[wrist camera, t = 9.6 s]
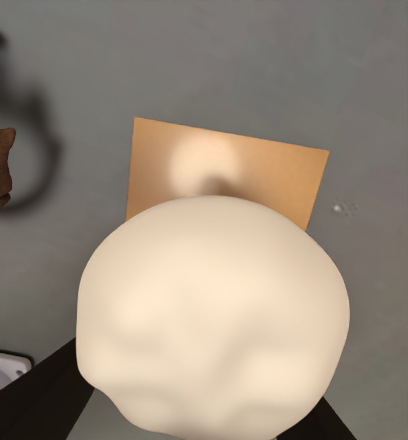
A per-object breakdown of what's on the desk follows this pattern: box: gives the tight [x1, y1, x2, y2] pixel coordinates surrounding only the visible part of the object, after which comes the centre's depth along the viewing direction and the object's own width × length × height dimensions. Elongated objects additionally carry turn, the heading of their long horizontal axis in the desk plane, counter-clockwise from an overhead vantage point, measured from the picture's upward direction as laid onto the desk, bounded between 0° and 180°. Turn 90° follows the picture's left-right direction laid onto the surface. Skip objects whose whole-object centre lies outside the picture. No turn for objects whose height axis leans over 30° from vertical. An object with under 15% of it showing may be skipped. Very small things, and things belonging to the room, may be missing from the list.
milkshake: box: [76, 191, 350, 440], centre depth 7 cm, size 5×5×10 cm
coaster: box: [125, 117, 330, 232], centre depth 12 cm, size 10×10×1 cm
